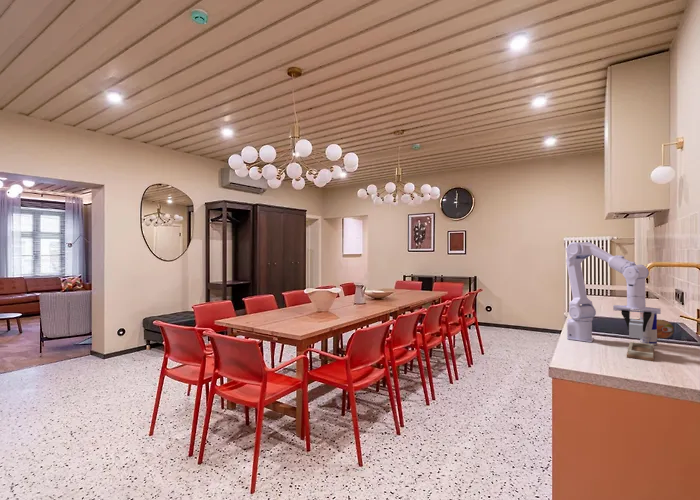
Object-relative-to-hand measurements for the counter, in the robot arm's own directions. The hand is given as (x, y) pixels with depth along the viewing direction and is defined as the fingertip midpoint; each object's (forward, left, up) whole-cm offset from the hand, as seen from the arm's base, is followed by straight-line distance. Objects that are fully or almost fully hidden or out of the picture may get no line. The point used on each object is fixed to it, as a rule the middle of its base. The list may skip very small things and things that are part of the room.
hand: (636, 330), depth 142 cm
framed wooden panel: (+1, 0, -9) cm, 9 cm away
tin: (+4, +36, -9) cm, 38 cm away
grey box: (0, 0, -2) cm, 2 cm away
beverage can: (+3, +20, -9) cm, 22 cm away
